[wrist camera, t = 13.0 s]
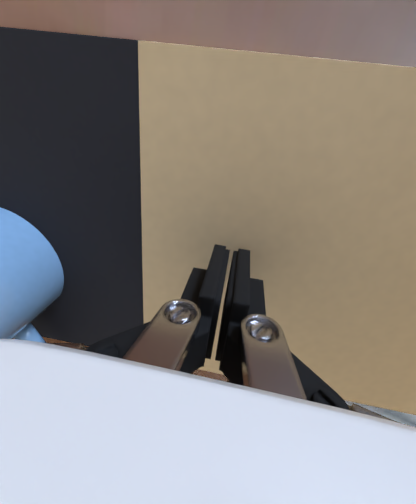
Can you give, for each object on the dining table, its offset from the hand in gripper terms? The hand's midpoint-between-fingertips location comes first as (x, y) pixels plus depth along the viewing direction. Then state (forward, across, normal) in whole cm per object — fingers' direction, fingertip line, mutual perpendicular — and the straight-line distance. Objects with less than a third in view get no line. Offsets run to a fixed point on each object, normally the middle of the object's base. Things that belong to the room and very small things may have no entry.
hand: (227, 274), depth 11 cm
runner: (+2, +2, 0) cm, 3 cm away
